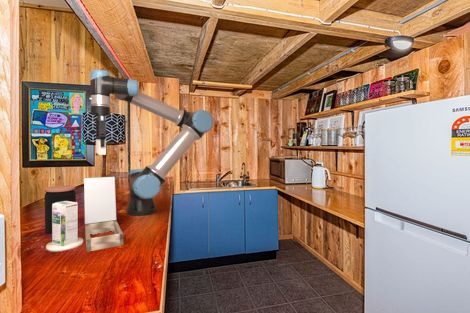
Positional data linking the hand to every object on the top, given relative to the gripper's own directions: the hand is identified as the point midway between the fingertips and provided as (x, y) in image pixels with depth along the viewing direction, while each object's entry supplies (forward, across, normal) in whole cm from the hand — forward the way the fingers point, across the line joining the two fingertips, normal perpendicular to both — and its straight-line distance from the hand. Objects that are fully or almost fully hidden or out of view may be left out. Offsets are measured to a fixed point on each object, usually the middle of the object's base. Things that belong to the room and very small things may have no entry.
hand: (100, 154), depth 112 cm
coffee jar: (+32, +1, -15) cm, 35 cm away
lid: (+19, +9, -1) cm, 21 cm away
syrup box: (+31, +20, -13) cm, 39 cm away
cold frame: (+32, +21, -1) cm, 38 cm away
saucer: (+32, +20, -13) cm, 40 cm away
